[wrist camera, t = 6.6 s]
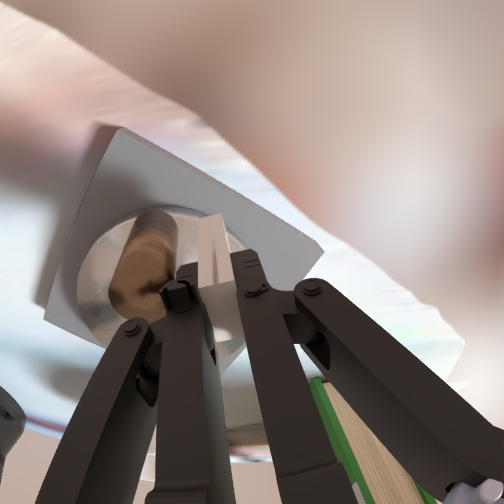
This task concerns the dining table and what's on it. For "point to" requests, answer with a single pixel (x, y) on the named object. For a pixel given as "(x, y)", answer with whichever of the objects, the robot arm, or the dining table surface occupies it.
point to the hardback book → (364, 453)
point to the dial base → (174, 195)
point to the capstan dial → (140, 269)
